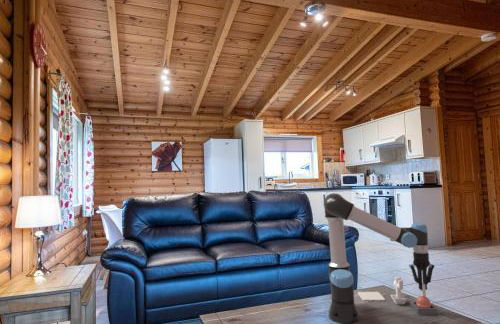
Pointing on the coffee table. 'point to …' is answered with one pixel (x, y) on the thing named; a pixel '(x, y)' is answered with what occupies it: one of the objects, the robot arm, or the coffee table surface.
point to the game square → (371, 296)
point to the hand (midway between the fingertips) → (423, 295)
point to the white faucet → (398, 292)
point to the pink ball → (423, 302)
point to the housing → (424, 309)
